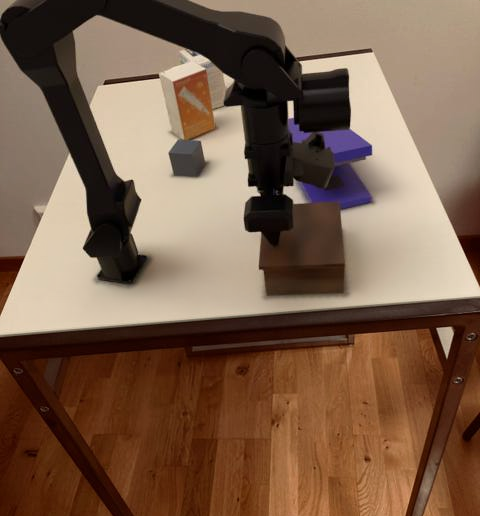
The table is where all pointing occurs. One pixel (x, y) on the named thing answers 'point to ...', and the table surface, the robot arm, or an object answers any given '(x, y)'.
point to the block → (187, 157)
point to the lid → (307, 240)
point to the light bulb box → (208, 76)
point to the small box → (188, 100)
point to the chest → (304, 281)
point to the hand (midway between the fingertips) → (275, 230)
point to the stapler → (339, 168)
